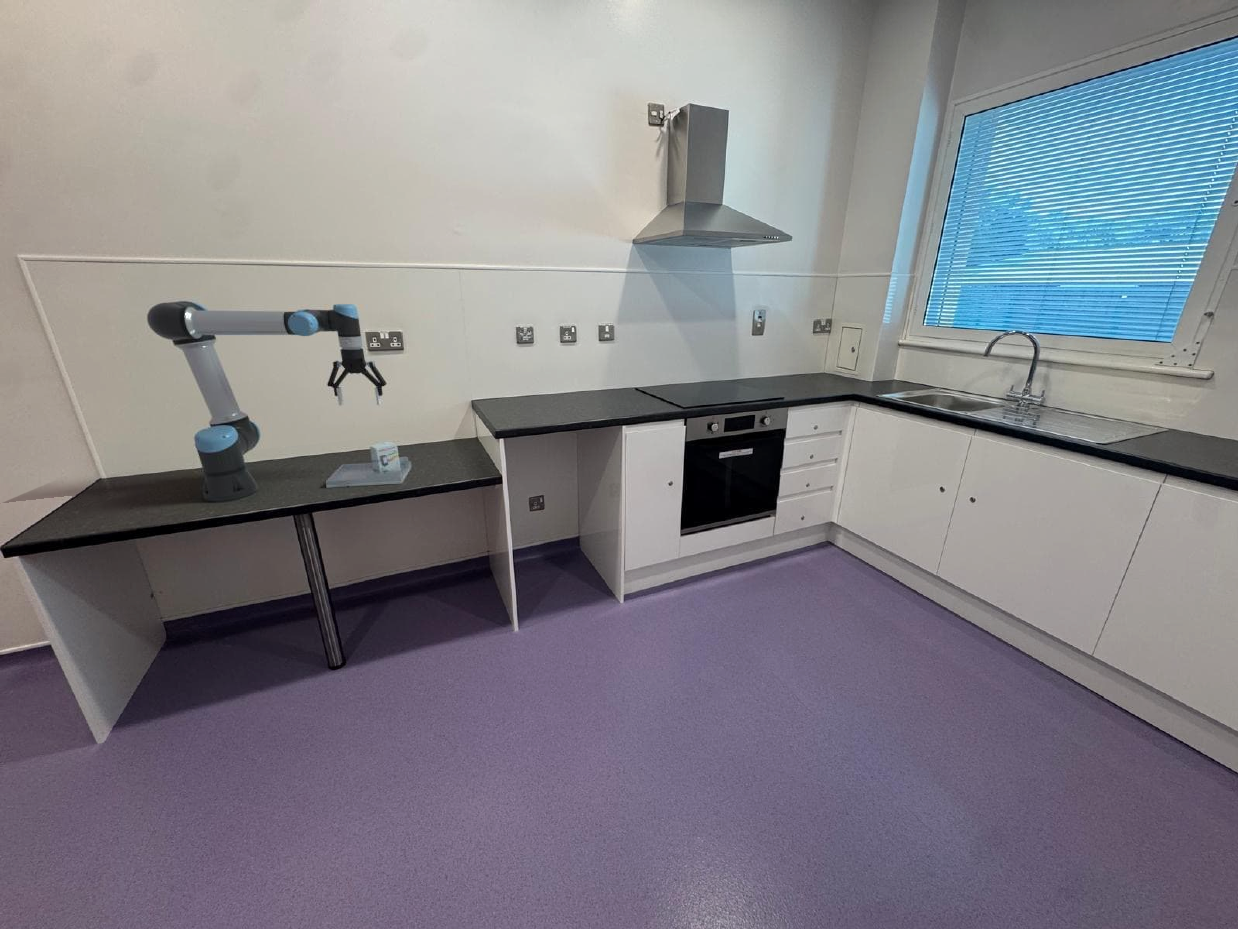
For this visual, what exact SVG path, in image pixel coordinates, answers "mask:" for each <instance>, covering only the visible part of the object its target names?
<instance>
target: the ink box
mask: <svg viewBox="0 0 1238 929" xmlns="http://www.w3.org/2000/svg"><path fill="white" fill-rule="evenodd" d="M398 449H399V448H398V444H397V442H394V441H385V442H381V443H376V444H372V445H370V446H369V451H370V457H371V463H372V464H373V470H374V471H390V470H399V471H401V468H400V462H399V457H400V456H399V451H398Z"/></svg>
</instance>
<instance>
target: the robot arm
mask: <svg viewBox="0 0 1238 929" xmlns="http://www.w3.org/2000/svg"><path fill="white" fill-rule="evenodd" d="M332 307H333V308H332V309H308V308H307V309H298V310H297V311H278V310H277V311H269V310H265V311H264V310H263V311H261V310H255V311H254V310H209V309H208V308H206V307H205V306H204V305H201V304H199V303H197V302H193V301H187V300H185V301H183V300H180V301H174V302H173V301H171V302H161V303H160V302H159V303H157V304H155V305H153V306H152V307H151V308H150V309H149V310H148V313H147V316H146V318H147V319H146V320H147V324H148V326H149V327H150V329H151V330H152V331H153V332H154V334H156V335H157V336H159V337H161V338H163V339H166V340H170V341H172V343H173V346H174V347H176V348H178V349H181V351H182V352H183V354H184V357H185V359H186V362H187V364H188V366H189V368H190V370H191V372H192V375H193V377H194V380H195V382H196V385H197V387H198V389H199V391H200V393H201V395H202V397H203V399H204V402H205V404H206V406H207V408H208V409H207V410H208V411H209V413H210V415H211V418H210V420H209V421H208V424H209V426H210V427H207V428H203V429H201V430H199V431H198V432H196V434H194V436H193V437H194V438H193V440H194V446H195V448H196V452H197V453H198V458H199V461H200V464H201V467H202V471H203V473H204V476H205V478H204V486H203V497H204V499H205V501H208V502H215V503H216V502H218V503H219V502H228V501H233V500H238V499H242V498H245V497H248V496H250V495H252V494H254V493H255V492H257V491H258V490H259V488H258V487H259V486H258V482H256V480H255V478H254V477H253V476H252V474H251V473H250V472H249V470H248V469H247V466H246V463H245V458H244V455H246V454H247V453H248V452H249V451H252V450H253V449H254V448H256V447H257V446H256V445H257V444H258V443H260V442H259V441H260V439H261V431H260V428H259V426H258V425H257V424H256V423H255V422H253V421H252V420H250V418H249V415H248V414H247V413H245V412H243V411H242V410H241V408H240V406H239V404H238V401H237V399H236V396H235V394H234V392H233V389H232V387H231V384H230V382H229V379H228V378H227V375H226V373H225V370H224V368H223V366H222V364H221V361H220V358H219V356H218V354H217V352H216V349H215V347H214V346H215V343H216V341H217V337H216V336H289V335H290V336H300V337H309V336H312V335H314V334H318V333H320V332H323V333H324V332H328V333H329V332H336V333H337V336H338V338H337V339H338V343H339V347H340V348H341V349H340V356H341V361H339V360H335V361H333V362H332V365H333V366H332V370H331V373H330V376H329V378H328V381H327V387H331V388H333V392H334V396H335V397H337V402H338V406H343V405H344V404H345V402H344V397H343V391H342V387H341V386H340V385H341V383H343V380H344V379H345V378H346V377H347V375H349V374H351V375H353V374H357V375H359V374H362V375H363V376H364V377H365V378H367V379H368V380H369V381H370V382H371V383H372V384H373V385H374V386H375V388H374V391H375V392H374V393H375V399H376V406H380V405H381V404H382V398H381V397H382V396H383V387H385V386H386V385H387V384H388V383H387V382H386V379H384V377H383V376H382V374H381V372H380V371H379V370H378V368H377V367H376V364H375V361H374V360H371V361H366V359H365V353H364V348H363V339H362V334H361V326H360V317H359V313H358V310H357V309H358V308H357V307H356V305H355V304H351V303H350V304H347V303H346V304H345V303H338V304H337V303H336V304H333V306H332ZM341 366H342V367H343V371H342V373H341V374H340V375H339V377H337V375H338V373H339V372H338V371H339V369H340V368H341ZM366 367H368V368H370V370H371V372H372V373H373V375H372V374H371V373H370V372H369V370H368V369H367V368H366ZM336 378H337V379H336Z"/></svg>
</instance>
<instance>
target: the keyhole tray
mask: <svg viewBox="0 0 1238 929" xmlns="http://www.w3.org/2000/svg"><path fill="white" fill-rule="evenodd" d="M399 462H400V468H401V471H399V470H390V471H374V470H373V464H372V462H368V463H367V462H366V463H350V464H349V463H347V464H346V463H345V464H341V465H340V466H339V467H338V468H337V469H336V470H335V471H334V472H333V473H332V474H331V475H330V476H329V478H327V479H326V481H325V485H326V488H327V489H328V488H329V489H330V488H331V489H332V488H344V487H347V486H349V487H363V486H364V487H365V486H377V485H378V486H379V485H381V486H382V485H395V484H396V485H397V484H398V485H399V484H403V482H404V481H405V479H406V478H407V476H408V474H409V472H410V471H411V469H412V467H413V466H412V461H411V460H409V457H408V456H399ZM347 488H348V487H347Z"/></svg>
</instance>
